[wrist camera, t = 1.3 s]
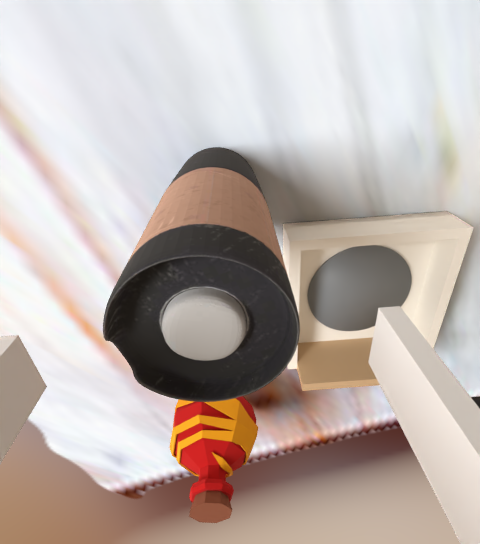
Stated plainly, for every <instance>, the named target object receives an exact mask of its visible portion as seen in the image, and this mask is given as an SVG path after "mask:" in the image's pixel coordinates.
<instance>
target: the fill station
mask: <svg viewBox="0 0 480 544" xmlns="http://www.w3.org/2000/svg"><path fill="white" fill-rule="evenodd" d="M473 228H474V227H473V226H471V225H469V224H468V223H466V222H464V221H463V220H461V219H459V218H458V217H456V216H454V215H452V214H451V213H449V212H447V211H441V212H428V213H415V214H402V215H389V216H376V217H363V218H350V219H337V220H324V221H311V222H298V223H285V224H283V261H284V264H285V268H286V271H287V274H288V278H289V281H290V285H291V288H292V292H293V295H294V299H295V302H296V306H297V310H298V314H299V322H300V334H299V341H298V345H297V348H296V351H295V353H294V355H293V357H292V359H291V361H290V362H289V364H288V365H287V366H288V369H297V371H298V375H299V379H300V383H301V387H302V391H306V390H320V389H334V388H347V387H361V386H374V385H380V384H379V382H378V380H377V378H376V376H375V374H374V373H373V371H372V369H371V367H370V365H369V363H368V361H369V356H370V351H371V345H372V340H373V335H374V329H375V324H376V319H377V313H378V308H381V307H394V306H400V307H401V308H402V310H403V311H404V312H405V314H406V315H407V316H408V317H409V319H410V320H411V321H412V322H413V324H414V325H415V326H416V328H417V329H418V330H419V331H420V333H421V334H422V335H423V337H424V338H425V339H426V340H427V342H428V343H429V344H430V346H431V347H432V348H434V345H435V342H436V339H437V336H438V333H439V330H440V327H441V324H442V321H443V318H444V315H445V312H446V309H447V306H448V303H449V300H450V297H451V294H452V291H453V288H454V285H455V282H456V279H457V276H458V273H459V270H460V267H461V264H462V261H463V258H464V255H465V252H466V249H467V246H468V243H469V240H470V237H471V234H472V231H473Z"/></svg>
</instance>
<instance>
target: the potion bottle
mask: <svg viewBox="0 0 480 544" xmlns="http://www.w3.org/2000/svg"><path fill="white" fill-rule="evenodd" d="M257 431H258V426H257V425H256V417H255V414H254V411H253V408H252V405H251V404H250V403H249V402H248V401H247V400H246V399H245V398H244V397H243V396H241V397H238V398H234V399H229V400H224V401H216V402H193V401H185V400H178V403H177V405H176V408H175V416H174V423H173V431H172V437H171V442H170V450H171V453H172V456H174V457H175V458H177V459H176V460H177V461H178V463H179V464H180V465H181V466H183V467H184V468H185V469H187V470H188V471H189V472H191V473H192V474H193V475H195V476H199V481H198V482H196V483H193V485H192V487H191V491H190V497H189V498H190V500H191V502H193V504H192V506H191V510H190V515H189V516H190V517H191V518H193V519H195V520H197V521H199V522H209V523H217V522H220V521H223V520H225V519H228V518H230V515H231V512H232V508H231V504H230V500H231V498H232V495H233V491H234V490H233V487H232V485H230V484H229V483H227V482H226V480H225V479H226V477H229V476H231V475H233V472H232V471H234V470H236V469H238V468H240V467H241V466H242V465H244V464H246V462H247V460H248V458H249V456H250V453H251V450H252V448H253V445H254V442H255V440H256V437H257Z"/></svg>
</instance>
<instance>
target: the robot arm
mask: <svg viewBox="0 0 480 544" xmlns="http://www.w3.org/2000/svg"><path fill="white" fill-rule="evenodd" d="M368 363H369V365H370V367H371V369H372V371H373V373H374V374H375V376H376V378H377V380H378V382H379V384H380V386H381V388H382V390H383V392H384V394H385V396H386V398H387V400H388V402H389V404H390V406H391V408H392V410H393V412H394V414H395V416H396V418H397V420H398V422H399V424H400V426H401V428H402V429H403V431H404V433H405V435H406V437H407V439H408V441H409V443H410V445H411V447H412V449H413V451H414V453H415V455H416V457H417V459H418V461H419V463H420V465H421V467H422V469H423V471H424V473H425V475H426V477H427V479H428V480H429V483H430V484H431V487H432V489H433V491H434V492H435V494H436V496H437V498H438V500H439V502H440V504H441V506H442V508H443V510H444V512H445V514H446V516H447V518H448V520H449V522H450V524H451V526H452V528H453V530H454V532H455V533H456V536H457V538H458V539H459V541H460V544H480V397H470V396H469V394H468V393H467V392H466V390H465V389H464V388H463V387H462V385H461V384H460V383H459V381H458V380H457V379H456V378H455V376H454V375H453V374H452V372H451V371H450V370H449V369H448V367H447V366H446V365H445V364H444V362H443V361H442V360H441V358H440V357H439V356H438V355H437V353H436V352H435V351H434V349H433V348H432V347H431V346H430V344H429V343H428V342H427V340H426V339H425V338H424V337H423V335H422V334H421V333H420V331H419V330H418V329H417V328H416V326H415V325H414V324H413V322H412V321H411V320H410V319H409V317H408V316H407V315H406V314H405V312H404V311H403V310H402V308H401V307H400V306H394V307H381V308H378V313H377V319H376V324H375V329H374V335H373V340H372V345H371V351H370V356H369V361H368ZM46 387H47V386H46V384H45V383H44V381H43V379H42V377H41V375H40V374H39V372H38V370H37V368H36V366H35V365H34V363H33V361H32V359H31V357H30V356H29V354H28V352H27V350H26V348H25V347H24V345H23V343H22V341H21V339H20V338H19V336H18V335H14V336H1V337H0V464H1V462H2V460H3V459H4V457H5V455H6V454H7V452H8V450H9V449H10V447H11V445H12V444H13V442H14V440H15V439H16V437H17V435H18V434H19V432H20V430H21V429H22V427H23V425H24V423H25V422H26V420H27V419H28V417H29V415H30V414H31V412H32V410H33V409H34V407H35V405H36V404H37V402H38V400H39V399H40V397H41V395H42V394H43V392H44V390H45V389H46Z"/></svg>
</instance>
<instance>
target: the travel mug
mask: <svg viewBox="0 0 480 544" xmlns="http://www.w3.org/2000/svg"><path fill="white" fill-rule="evenodd" d="M103 334H104V338H105V340H106V341H111V342H113V343H114V345H115V346H116V347H117V348H118V349H119V351H120V352H121V353H122V355H123V356H124V357H125V359H126V360H127V362H128V363H129V365H130V366H131V368H132V371H133V374H134V377H135V379H136V380H137V381H138V383H140V384H141V385H142V386H144V387H146V388H147V389H149V390H151V391H154V392H156V393H159V394H161V395H164V396H167V397H171V398H175V399H179V400H185V401H193V402H216V401H224V400H229V399H234V398H238V397H241V396H244V395H247V394H250V393H252V392H254V391H257V390H258V389H260V388H262V387H264V386H265V385H267V384H268V383H270V382H271V381H273V380H274V379H275V378H276V377H277V376H278V375H280V374H281V372H282V371H283V370H284V369H285V368H286V367H287V365H288V364H289V362H290V361H291V359H292V357H293V355H294V353H295V351H296V348H297V345H298V341H299V334H300V322H299V314H298V310H297V306H296V302H295V299H294V295H293V292H292V288H291V285H290V281H289V278H288V274H287V271H286V268H285V264H284V261H283V257H282V254H281V250H280V247H279V243H278V240H277V236H276V233H275V229H274V226H273V223H272V219H271V216H270V212H269V209H268V206H267V203H266V200H265V198H264V196H263V193H262V191H261V188H260V186H259V184H258V181H257V179H256V177H255V174H254V172H253V170H252V168H251V167H250V165H249V164H248V163H247V161H246V160H245V159H244V158H243V157H241V156H240V155H239V154H237V153H235V152H234V151H231V150H229V149H225V148H208V149H204V150H202V151H199V152H197V153H196V154H194V155H193V156H192V157H191V158H189V159H188V161H187V162H186V163H185V164H184V165H183V167H182V168H181V170H180V171H179V173H178V174H177V175H176V177H175V178H174V180H173V181H172V183H171V184H170V185H169V187H168V188H167V190H166V192H165V193H164V195H163V196H162V198H161V200H160V202H159V204H158V206H157V208H156V210H155V212H154V213H153V215H152V217H151V219H150V221H149V223H148V225H147V227H146V229H145V231H144V233H143V234H142V236H141V238H140V240H139V242H138V244H137V246H136V248H135V250H134V252H133V253H132V255H131V257H130V259H129V261H128V263H127V265H126V267H125V269H124V270H123V272H122V274H121V276H120V278H119V280H118V282H117V284H116V286H115V288H114V289H113V292H112V294H111V296H110V298H109V301H108V303H107V307H106V311H105V315H104V322H103Z"/></svg>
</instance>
